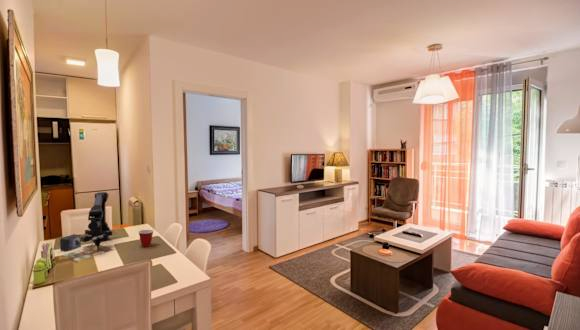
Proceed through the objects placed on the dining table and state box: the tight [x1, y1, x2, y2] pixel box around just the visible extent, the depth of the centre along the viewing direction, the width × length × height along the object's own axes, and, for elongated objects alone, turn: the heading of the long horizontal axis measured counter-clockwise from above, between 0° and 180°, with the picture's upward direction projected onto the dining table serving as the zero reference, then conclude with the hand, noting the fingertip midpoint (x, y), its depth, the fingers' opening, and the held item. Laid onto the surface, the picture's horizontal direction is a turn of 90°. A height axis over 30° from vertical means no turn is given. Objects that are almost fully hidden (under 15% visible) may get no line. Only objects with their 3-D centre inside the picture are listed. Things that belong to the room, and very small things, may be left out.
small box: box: [59, 233, 82, 252], centre depth 203 cm, size 11×6×10 cm, turn 168°
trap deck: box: [63, 244, 115, 264], centre depth 196 cm, size 23×20×3 cm
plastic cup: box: [138, 229, 155, 248], centre depth 213 cm, size 11×11×12 cm
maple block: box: [82, 243, 98, 255], centre depth 197 cm, size 6×6×4 cm
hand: (97, 247), depth 201 cm, fingers closed
